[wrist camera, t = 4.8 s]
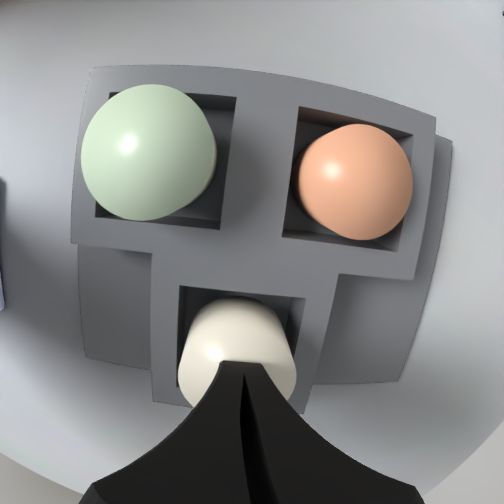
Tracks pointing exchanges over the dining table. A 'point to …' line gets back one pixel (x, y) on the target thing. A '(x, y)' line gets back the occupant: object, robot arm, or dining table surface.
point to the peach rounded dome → (353, 181)
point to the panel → (260, 235)
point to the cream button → (234, 345)
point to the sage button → (148, 153)
